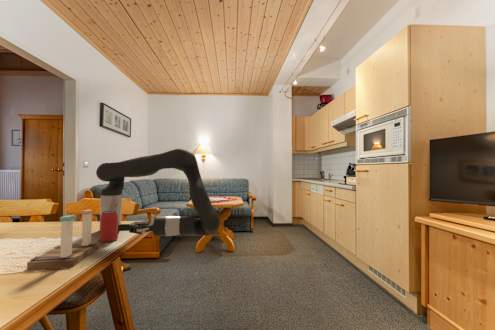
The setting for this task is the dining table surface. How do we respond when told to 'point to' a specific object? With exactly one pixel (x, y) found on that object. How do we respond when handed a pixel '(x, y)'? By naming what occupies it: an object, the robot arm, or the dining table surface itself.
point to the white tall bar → (86, 227)
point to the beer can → (108, 226)
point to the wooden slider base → (54, 260)
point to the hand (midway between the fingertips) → (118, 227)
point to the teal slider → (66, 235)
